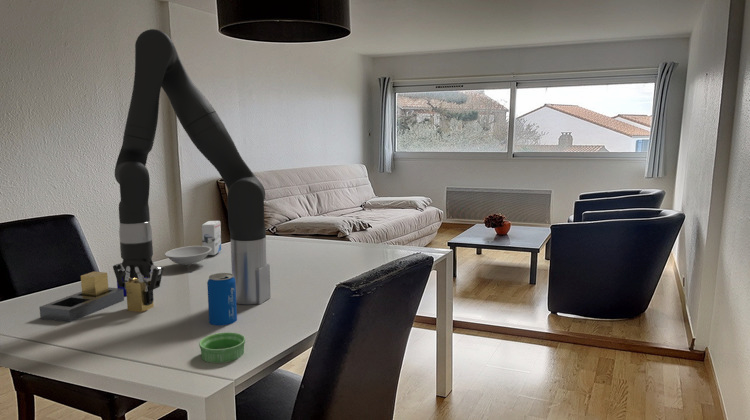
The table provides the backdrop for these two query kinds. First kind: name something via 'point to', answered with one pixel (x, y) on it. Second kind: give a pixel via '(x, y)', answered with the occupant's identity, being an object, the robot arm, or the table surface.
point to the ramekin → (222, 340)
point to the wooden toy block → (136, 296)
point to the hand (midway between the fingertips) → (140, 303)
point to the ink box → (212, 236)
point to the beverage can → (222, 299)
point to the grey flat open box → (79, 305)
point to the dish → (188, 254)
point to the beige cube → (94, 284)
